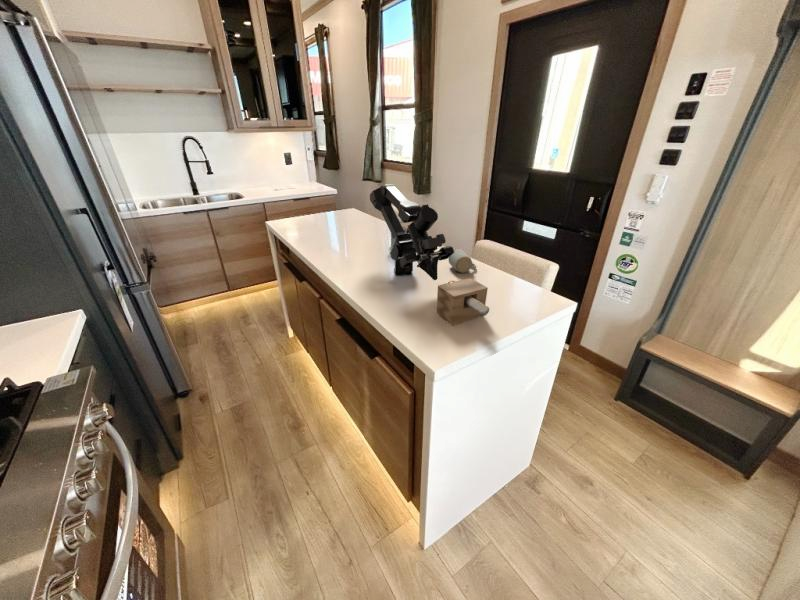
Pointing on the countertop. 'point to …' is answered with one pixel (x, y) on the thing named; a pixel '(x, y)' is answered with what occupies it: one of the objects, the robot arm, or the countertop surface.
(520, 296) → the countertop surface
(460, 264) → the ceramic mug
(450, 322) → the hitch block
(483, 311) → the steel pin
